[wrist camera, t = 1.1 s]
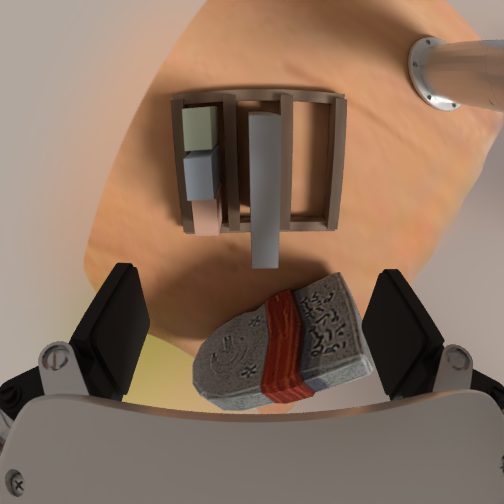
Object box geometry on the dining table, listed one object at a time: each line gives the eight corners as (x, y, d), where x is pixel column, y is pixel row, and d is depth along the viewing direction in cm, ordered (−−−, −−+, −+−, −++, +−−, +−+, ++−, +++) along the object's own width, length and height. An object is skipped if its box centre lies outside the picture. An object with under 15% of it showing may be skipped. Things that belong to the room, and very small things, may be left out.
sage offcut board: (217, 106, 33) (209, 106, 26) (219, 140, 35) (211, 149, 28) (195, 107, 33) (182, 109, 26) (197, 141, 35) (184, 151, 28)
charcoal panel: (266, 111, 33) (281, 115, 20) (267, 207, 40) (278, 268, 27) (248, 111, 33) (248, 115, 20) (250, 207, 40) (252, 268, 27)
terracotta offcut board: (221, 182, 38) (216, 199, 32) (223, 214, 41) (218, 235, 35) (200, 183, 38) (191, 200, 32) (203, 214, 41) (195, 236, 35)
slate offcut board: (219, 145, 36) (211, 157, 28) (220, 178, 38) (213, 199, 30) (197, 146, 36) (183, 159, 28) (199, 179, 38) (187, 200, 30)
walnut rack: (339, 94, 32) (347, 94, 29) (331, 225, 42) (336, 234, 39) (176, 95, 32) (170, 94, 29) (188, 228, 42) (184, 237, 39)
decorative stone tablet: (367, 356, 28) (177, 407, 38) (379, 378, 31) (203, 422, 41) (338, 259, 44) (198, 322, 54) (352, 285, 47) (218, 340, 57)
